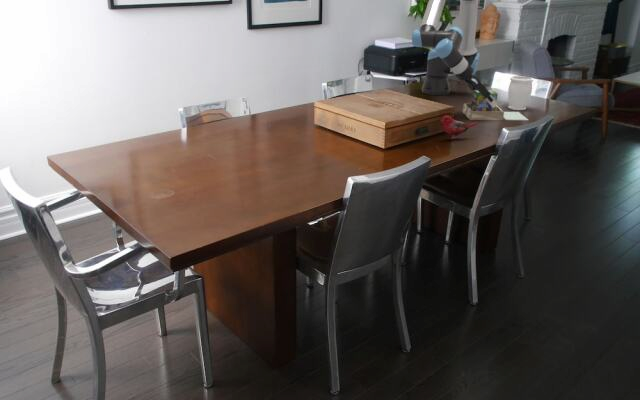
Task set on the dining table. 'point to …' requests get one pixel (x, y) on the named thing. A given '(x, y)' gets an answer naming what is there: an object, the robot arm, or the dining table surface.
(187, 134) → the dining table surface
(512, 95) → the jar
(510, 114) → the sage-grey mat
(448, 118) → the decorative bird figurine
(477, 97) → the chalk box
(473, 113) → the pale wooden box
